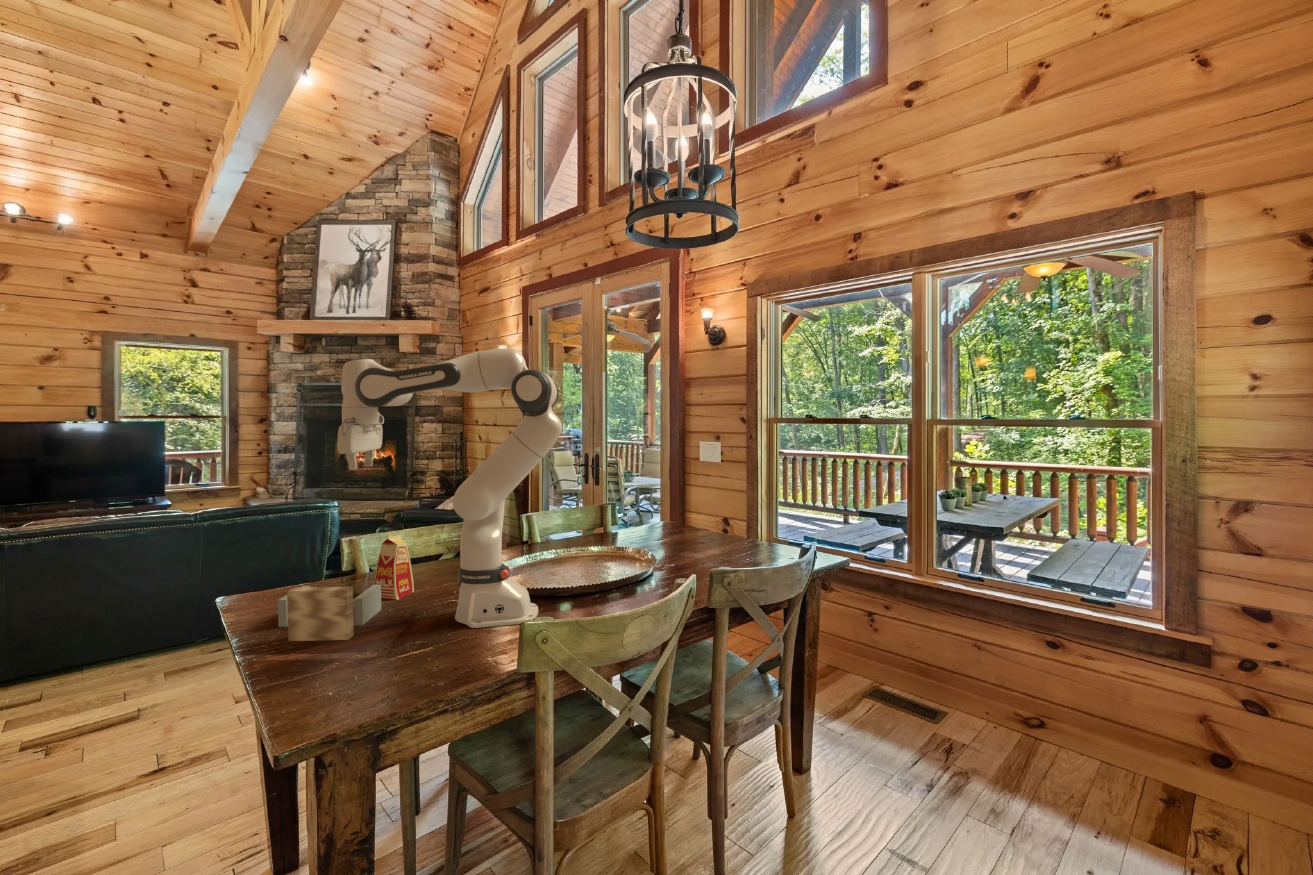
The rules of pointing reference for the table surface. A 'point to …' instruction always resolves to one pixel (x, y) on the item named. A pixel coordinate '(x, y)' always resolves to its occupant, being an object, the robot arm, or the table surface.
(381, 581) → the milk carton
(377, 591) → the rack
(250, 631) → the table surface
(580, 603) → the table surface
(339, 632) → the panel
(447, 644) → the table surface
